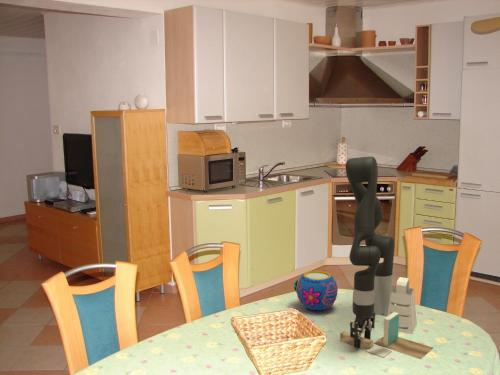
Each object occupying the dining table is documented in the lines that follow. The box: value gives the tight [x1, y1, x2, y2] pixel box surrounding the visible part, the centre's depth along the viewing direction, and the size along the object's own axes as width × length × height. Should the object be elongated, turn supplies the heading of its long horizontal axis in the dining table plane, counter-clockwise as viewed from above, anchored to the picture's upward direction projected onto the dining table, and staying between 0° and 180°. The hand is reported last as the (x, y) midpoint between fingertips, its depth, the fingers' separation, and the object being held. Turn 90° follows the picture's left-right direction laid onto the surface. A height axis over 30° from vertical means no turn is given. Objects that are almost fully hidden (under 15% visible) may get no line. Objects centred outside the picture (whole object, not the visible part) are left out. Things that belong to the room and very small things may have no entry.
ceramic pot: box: [293, 270, 339, 311], centre depth 227 cm, size 18×18×15 cm
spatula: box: [339, 331, 393, 359], centre depth 190 cm, size 18×6×3 cm, turn 49°
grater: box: [386, 276, 418, 335], centre depth 206 cm, size 10×10×20 cm
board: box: [373, 336, 434, 360], centre depth 191 cm, size 11×18×1 cm, turn 49°
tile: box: [382, 312, 400, 346], centre depth 193 cm, size 8×2×10 cm, turn 139°
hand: (362, 344), depth 190 cm, fingers open, 6 cm apart
